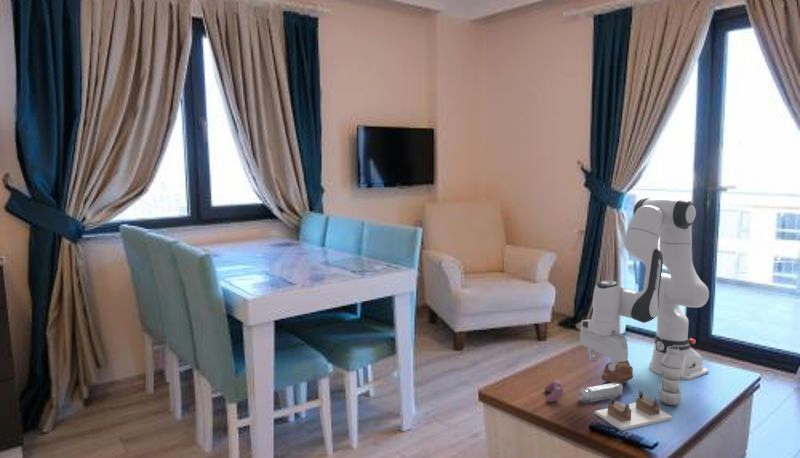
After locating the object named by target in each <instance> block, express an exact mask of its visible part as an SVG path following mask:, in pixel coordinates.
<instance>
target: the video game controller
mask: <svg viewBox="0 0 800 458" xmlns="http://www.w3.org/2000/svg"><path fill="white" fill-rule="evenodd" d="M563 385H564V384H563V382H562V380H559V379H558V380H557V379H555V380H553V381H551V383H548V384H547V385H546V386H545V387H544V391H545V393H550V392H551V393H550V394H548V395H547V396H546V398H545V400H546V402H548V403H553V402H555V401H557V400H558V399H560V398H561V397H563V396H564V389H563V388H564V387H563Z"/></svg>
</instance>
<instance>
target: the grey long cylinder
mask: <svg viewBox="0 0 800 458" xmlns="http://www.w3.org/2000/svg"><path fill="white" fill-rule="evenodd" d="M623 386H624V384H621V383H618V382H613V383H605V384H600V385H595V386H587V387H581V388H580V389H579V402H581V403H584V404H590V403H595V402H599V401H603V400H609V399H610V400H611V396H615V398H622V397H623V388H624V387H623Z"/></svg>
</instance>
